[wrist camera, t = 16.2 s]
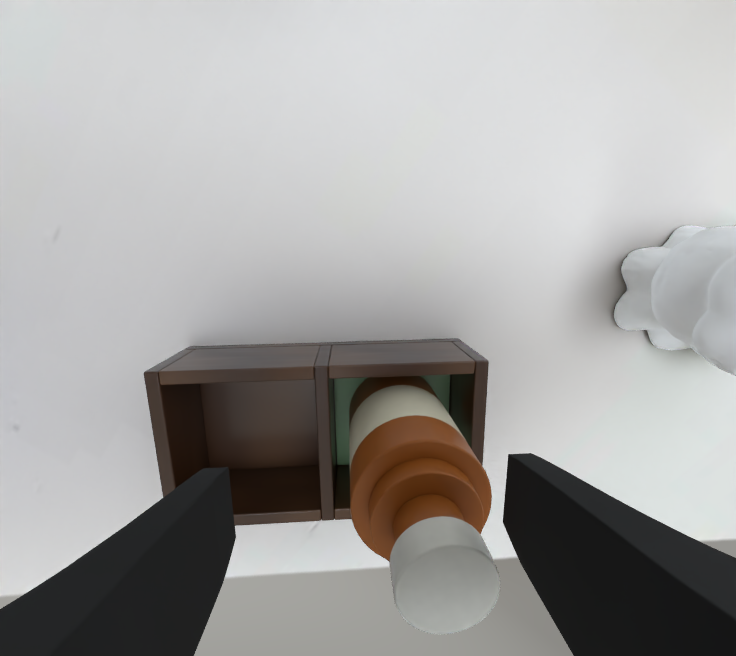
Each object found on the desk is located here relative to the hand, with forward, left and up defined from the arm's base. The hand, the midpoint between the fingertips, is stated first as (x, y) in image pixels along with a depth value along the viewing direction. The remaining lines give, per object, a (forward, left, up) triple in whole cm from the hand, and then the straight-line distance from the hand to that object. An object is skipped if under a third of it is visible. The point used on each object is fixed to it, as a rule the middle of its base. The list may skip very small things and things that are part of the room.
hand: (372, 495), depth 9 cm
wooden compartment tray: (-2, -2, -10) cm, 11 cm away
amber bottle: (+1, -3, -9) cm, 10 cm away
